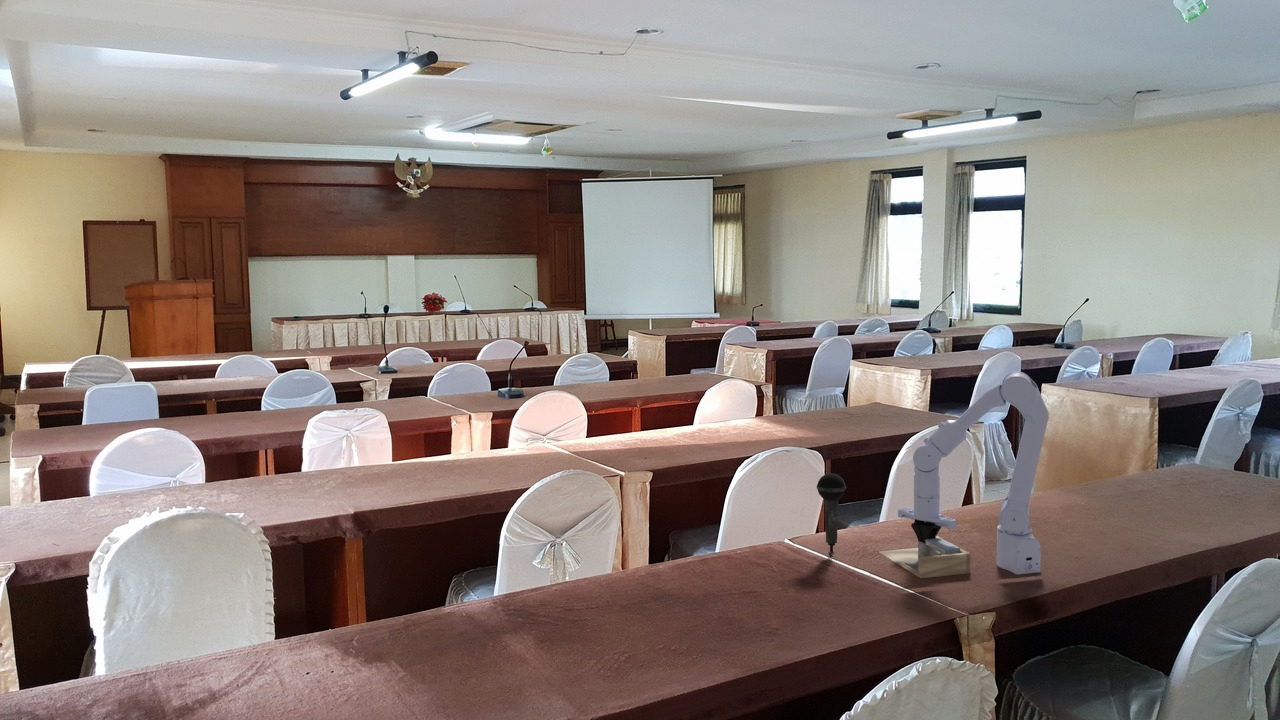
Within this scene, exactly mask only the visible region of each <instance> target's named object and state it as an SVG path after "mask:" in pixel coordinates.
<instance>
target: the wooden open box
mask: <svg viewBox="0 0 1280 720" xmlns="http://www.w3.org/2000/svg"><path fill="white" fill-rule="evenodd" d="M936 538H940V539H942V540H944V541H946V542H948V543H951V542H949V541H948V540H945V539H943V538H942V537H941V536H938V535H937V536H936ZM959 548H960V553H955V554H944V555H941V553H940V552H939V551H937V550H935V549H933V548H931V547H930V546H928V545H926V544H924V543H922V542H919V541H918V543H917V547H913V548H904V549H903V548H902V549H892V550H891V549H890V550H881V551H878V553H879V554H881V555H883V556H885V557H886V558H887V559H889V560H890V561H892V562H893V563H895V564H897V565H898V566H900V567H901V568H903V569H905V570H907V571H908V572H909V573H911V574H913V575H914V576H916V577H918V578H920V579H926V578H935V577H937V578H938V577H946V576H957V575H966V574H971V568H972V566H971V558H972V556H971V555H972V554H971V552H969V551H967V550H965V549H962V547H959Z"/></svg>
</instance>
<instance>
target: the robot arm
mask: <svg viewBox="0 0 1280 720" xmlns="http://www.w3.org/2000/svg"><path fill="white" fill-rule="evenodd" d="M1006 403H1009V404H1010V405H1011V406H1013V407H1014V408H1016V409H1017V411H1018V412H1019V413H1020V415H1022V417H1023V418H1024V424H1023V429H1022V433H1021V436H1020V437H1021V438H1020V441H1019V445H1018V446H1019V447H1018V450H1017V455H1016V459H1015V463H1014V467H1013V471H1012V476H1011V481H1010V485H1009V488H1008V492H1007V496H1006V497H1005V499H1003V500H1002V502H1001V503H1000V507H999V511H1000V512H999V514H998V522H999V524H998V525H997V526H996V528H997V529H996V530H997V531H996V566H998V567H997V568H1000V569H1003V570H1007V571H1008V572H1011V573H1013V574H1015V575H1024V574H1034V573H1035V574H1036V573H1041V564H1042V563H1041V562H1042V552H1041V551H1042V547H1041V546H1042V545H1041V543H1040V541H1039V540H1037V539H1036V538H1035V536H1034V535H1033V531H1032V527H1031V526H1030V522H1031V520H1030V519H1031V518H1030V513H1031V508H1030V499H1031V494H1032V490H1033V485H1034V480H1035V477H1036V473H1037V468H1038V463H1039V459H1040V455H1041V451H1042V447H1043V443H1044V439H1045V434H1046V430H1047V425H1048V421H1049V414H1050V413H1049V410H1048V408H1047V406H1046V404H1045V401H1044V398H1043V396H1042V394H1041V392H1040V390H1039V387H1038V385H1037V383H1036V382H1035V381H1034V380H1033V379H1032V378H1031V377H1030V376H1029V375H1028V374H1026V372H1022V371H1012V372H1009V373H1007V375H1005V377H1004V378H1003V380H1002V379H1000V380H999V381H997V382H996V383H994V384H993V385H992V386H991V387H989V388H988V389H987V390H986V391H985V392H984V393H982V394H981V395H980V396H979V397H978V398H977V399H976V401H974V402H973V403H972V404H971V405H970V406H969V407H968V408H967V409H966V410H965V411H964V412H963V413H962V414H961V415H960V416H959V417H958V418H957V419H947V420H946V421H945V422H943V421H941V422H939V423H938V425H937V429H936V430H935V431H934V432H933V433H931V435H929V437H927V436H926V437H924V438H923V439H922V441H923V443H921V444H919V446H917V448H916V449H915V451H914V452H913V454H912V455H913V456H912V461H913V465H914V469H913V470H914V471H913V472H914V475H913V509H912V508H907V507H902V508H898V509H897V512H898V513H897V517H898V518H901V519H902V518H905V519H910V520H913V521H914V522H913V523H911V524H910V525H911V529H912V530H913V532H914V533H915V536H916V539H917V541H918V542H922V543H924V544H925V542H926V540H927V539H935V538H936V536H938V534H939V532H940V530H941V528H947V529H948V530H954V529H956V528H957V519H955V518H951V517H949V516H946V515H944V514H942V513H941V512H940V510H941V509H940V504H941V503H940V501H941V499H940V497H941V495H940V493H941V492H940V490H941V488H940V487H941V484H940V483H941V482H940V481H941V478H940V471H939V470H940V463H941V460H942V458H946V457H948V456H949V455H950V454H952V452H953V451H954V450H956V449H957V447H959V446H960V445H961V444H962V443H963V442H964V441H965V440H966V439H967V430H968V429H970V428H971V427H972V426H973V425H974V424H976V422H978V421H980V419H981V418H983V417H984V416H985V415H986V414H988V412H990V410H992V409H993V408H998V407H999V408H1000V407H1005V406H1006Z"/></svg>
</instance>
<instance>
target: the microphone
mask: <svg viewBox="0 0 1280 720" xmlns="http://www.w3.org/2000/svg"><path fill="white" fill-rule="evenodd" d="M816 489H817V491H818V494H819V496H820V497H821V498H822V499H824V525H825V542H826V544H827V545H828V546H829V551H828V556H829V557H831V556H832V557H833V555H834V554H835V552H834V546H835V545H836V544H837V543H838V524H839V522H838V521H839V500H840V499H841V498H843V496H844V494H845V492H846V489H847V486H846V483H845V481H844V478H842V476H840V475H839V474H837V473H833V472H832V473H831V472H830V473H829V472H828V473H826V474H824V475H822V476H821V477H820V478H819V480H818V481H817V484H816Z"/></svg>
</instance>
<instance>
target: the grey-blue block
mask: <svg viewBox="0 0 1280 720" xmlns="http://www.w3.org/2000/svg"><path fill="white" fill-rule="evenodd" d="M940 538H941V537H940ZM940 538H935V539H927V540H926V542H925V544H926V545H928V546H930V547H931V548H933V549H935V550H937V551H939V552H940V553H941V555H944V554H955V553H960V548H961V547H959V546H958V545H955V544H953V543H951V542H950V543H948V542H949V541H948V542H946V541H947V540H946V541H944V540H945V539H944V540H942V539H943V538H942V539H940Z"/></svg>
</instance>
